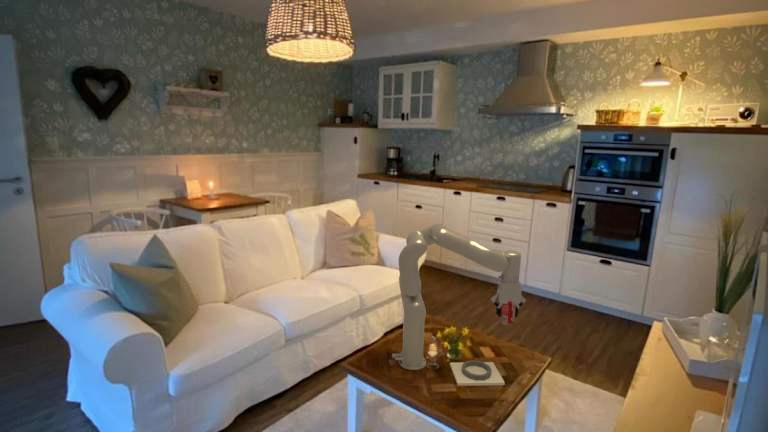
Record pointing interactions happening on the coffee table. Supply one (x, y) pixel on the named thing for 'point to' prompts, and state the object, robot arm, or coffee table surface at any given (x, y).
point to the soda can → (507, 313)
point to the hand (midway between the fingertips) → (506, 315)
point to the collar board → (476, 373)
